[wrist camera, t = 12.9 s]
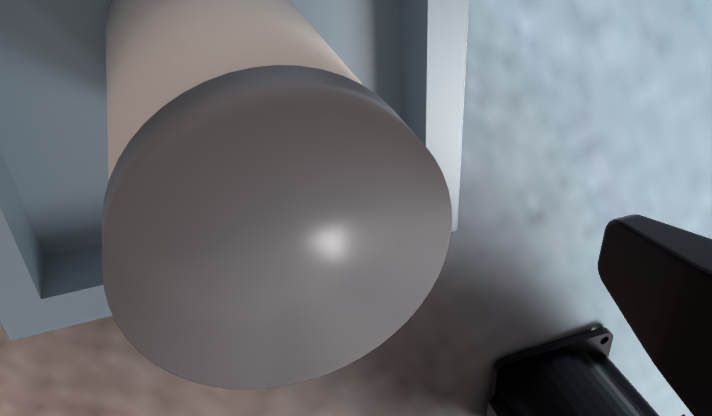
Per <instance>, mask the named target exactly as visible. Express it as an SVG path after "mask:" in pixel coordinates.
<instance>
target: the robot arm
mask: <svg viewBox="0 0 712 416" xmlns="http://www.w3.org/2000/svg"><path fill="white" fill-rule="evenodd" d="M598 271H599V275H600V278H601V280H602V282H603V284H604V285H605V287H606V288H607V290H608V292H609V293H610V295H611V296H612V298H613V300H614V301H615V303H616V304H617V306H618V308H619V309H620V311H621V312H622V314H623V316H624V317H625V319H626V320H627V322H628V324H629V325H630V327H631V328H632V330H633V332H634V333H635V335H636V336H637V338H638V340H639V341H640V343H641V344H642V346H643V348H644V349H645V351H646V352H647V354H648V355H649V357H650V358H651V360H652V361H653V363H654V364H655V366H656V367H657V368H658V370H659V371H660V372H661V374H662V375H663V377H664V378H665V379H666V381H667V382H668V383H669V384H670V386H671V387H672V388H673V390H674V391H675V392H676V393H677V395H678V396H679V397H680V399H681V400H682V401H683V403H684V404H685V405H686V406H687V408H688V409H689V410H690V412H691V413H692V414H693V415H694V416H712V239H709V238H706V237H704V236H701V235H698V234H695V233H692V232H689V231H686V230H683V229H680V228H677V227H674V226H671V225H668V224H665V223H662V222H659V221H656V220H653V219H650V218H647V217H644V216H641V215H629V216H625V217H621V218H617V219H614V220H612V221H610V222H609V223H608V225H607V226H606V228H605V232H604V237H603V242H602V246H601V251H600V255H599V260H598ZM612 340H613V334H612V333H611V332H610V331H609V330H608V329H607V328H605V327H604V328H599V329H596V330H593V331H589V332H586V333H583V334H580V335H576V336H573V337H570V338H566V339H563V340H560V341H556V342H553V343H550V344H547V345H543V346H540V347H537V348H533V349H530V350H527V351H524V352H520V353H517V354H514V355H510V356H507V357H504V358H501V359H499V360H498V361H497V362H496V363H495V364H494V366H493V372H492V382H491V391H490V398H489V400H488V405H487V415H486V416H659V415H658V414H657V413H656V411H655V410H654V409H653V408H652V407H651V406H650V405H649V403H648V402H647V401H646V400H645V399H644V398H643V397H642V395H641V394H640V393H639V392H638V391H637V390H636V389H635V388H634V386H633V385H632V384H631V383H630V382H629V381H628V380H627V378H626V377H625V376H624V375H623V374H622V373H621V372H620V371H619V369H618V368H617V367H616V366H615V365H614V364H613V363H612V361H611V360H610V359H609V358H608V356H609V352H610V348H611V344H612ZM682 416H685V415H684V414H683V415H682Z"/></svg>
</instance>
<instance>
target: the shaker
mask: <svg viewBox="0 0 712 416" xmlns="http://www.w3.org/2000/svg"><path fill="white" fill-rule="evenodd" d="M105 35H106V83H107V131H108V179H109V182H108V186H107V190H106V193H105V197H104V204H103V215H102V271H103V284H104V291H105V295H106V298H107V302H108V306H109V309H110V311H111V313H112V315H113V317H114V319H115V322H116V324H117V325H118V327H119V328H120V330H121V331H122V333H123V334H124V335H125V337H126V338H127V340H128V341H129V342H130V343H131V344H132V345H133V346H134V347H135V348H136V349H137V350H138V351H139V352H140V353H141V354H142V355H143V356H145V357H146V358H147V359H149V360H150V361H151V362H153V363H154V364H155V365H157V366H159V367H161V368H162V369H164V370H166V371H168V372H170V373H171V374H174V375H176V376H179V377H181V378H184V379H186V380H189V381H192V382H196V383H200V384H203V385H207V386H213V387H219V388H226V389H244V390H252V389H269V388H275V387H282V386H289V385H293V384H297V383H301V382H305V381H309V380H312V379H315V378H318V377H321V376H324V375H327V374H329V373H331V372H333V371H336V370H338V369H340V368H343V367H345V366H347V365H349V364H350V363H352V362H354V361H356V360H358V359H360V358H361V357H363V356H365V355H366V354H368V353H369V352H371V351H372V350H374V349H375V348H377V347H378V346H380V345H381V344H382V343H383V342H385V341H386V340H387V339H388V338H390V337H391V336H392V335H393V334H394V333H395V332H396V331H398V330H399V329H400V328H401V327H402V326H403V325H404V324H405V323H406V322H407V321H408V320H409V319H410V317H411V316H412V315H413V314H414V313H415V312H416V310H417V309H418V308H419V307H420V306H421V304H422V303H423V301H424V300H425V298H426V297H427V295H428V294H429V293H430V291H431V289H432V287H433V285H434V284H435V282H436V280H437V278H438V276H439V274H440V272H441V269H442V267H443V264H444V262H445V259H446V255H447V252H448V248H449V244H450V238H451V230H452V205H451V200H450V194H449V189H448V186H447V183H446V181H445V178H444V175H443V172H442V170H441V169H440V167H439V165H438V163H437V161H436V160H435V158H434V156H433V155H432V154H431V152H430V151H429V150H428V149H427V147H426V146H425V145H424V144H423V143H422V141H421V140H420V139H419V138H418V137H417V136H416V135H415V133H414V132H413V131H412V130H411V129H410V128H409V127H408V126H407V125H406V123H405V122H404V121H403V120H402V119H401V118H400V117H399V116H398V114H397V113H396V112H395V111H394V110H393V109H392V108H391V107H390V106H389V105H388V104H387V103H386V102H385V101H384V100H382V99H381V98H380V97H379V96H378V95H377V94H375V93H374V92H372V91H371V90H369V89H368V88H366V87H365V86H364V85H363V84H362V83H361V82H360V81H359V80H358V78H357V77H356V76H355V75H354V74H353V73H352V72H351V70H350V69H349V68H348V67H347V66H346V65H345V63H344V62H343V61H342V60H341V59H340V58H339V57H338V55H337V54H336V53H335V52H334V51H333V50H332V48H331V47H330V46H329V45H328V44H327V43H326V42H325V40H324V39H323V38H322V37H321V36H320V35H319V33H318V32H317V31H316V30H315V29H314V28H313V27H312V25H311V24H310V23H309V22H308V21H307V20H306V19H305V17H304V16H303V15H302V14H301V13H300V12H299V10H298V9H297V8H296V7H295V6H294V5H293V4H292V2H291V1H290V0H112V2H111V4H110V7H109V11H108V15H107V19H106V31H105Z"/></svg>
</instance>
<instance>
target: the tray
mask: <svg viewBox="0 0 712 416" xmlns="http://www.w3.org/2000/svg"><path fill="white" fill-rule="evenodd" d="M290 1H291V2H292V4H293V5H294V6H295V7H296V8H297V9H298V10H299V12H300V13H301V14H302V15H303V16H304V17H305V19H306V20H307V21H308V22H309V23H310V24H311V25H312V27H313V28H314V29H315V30H316V31H317V32H318V33H319V35H320V36H321V37H322V38H323V39H324V40H325V42H326V43H327V44H328V45H329V46H330V47H331V48H332V50H333V51H334V52H335V53H336V54H337V55H338V57H339V58H340V59H341V60H342V61H343V62H344V63H345V65H346V66H347V67H348V68H349V69H350V70H351V72H352V73H353V74H354V75H355V76H356V77H357V78H358V80H359V81H360V82H361V83H362V84H363V85H364V86H365V87H366V88H368V89H369V90H371V91H372V92H374V93H375V94H377V95H378V96H379V97H380V98H381V99H382V100H384V101H385V102H386V103H387V104H388V105H389V106H390V107H391V108H392V109H393V110H394V111H395V112H396V113H397V114H398V116H399V117H400V118H401V119H402V120H403V121H404V122H405V123H406V125H407V126H408V127H409V128H410V129H411V130H412V131H413V132H414V133H415V135H416V136H417V137H418V138H419V139H420V140H421V141H422V143H423V144H424V145H425V146H426V147H427V149H428V150H429V151H430V152H431V154H432V155H433V156H434V158H435V160H436V161H437V163H438V165H439V167H440V169H441V170H442V172H443V175H444V178H445V181H446V183H447V186H448V189H449V194H450V200H451V205H452V230H451V232H453V231H457V227H458V208H459V188H460V169H461V149H462V130H463V110H464V90H465V71H466V51H467V32H468V12H469V0H290ZM111 2H112V0H0V322H1V324H2V326H3V328H4V330H5V332H6V334H7V336H8V338H9V340H10V341H13V340H17V339H21V338H25V337H29V336H33V335H37V334H41V333H45V332H49V331H53V330H57V329H61V328H65V327H70V326H74V325H78V324H82V323H86V322H90V321H94V320H98V319H102V318H106V317H110V316H113V315H112V313H111V311H110V309H109V306H108V302H107V298H106V295H105V291H104V284H103V271H102V215H103V204H104V197H105V193H106V190H107V186H108V182H109V179H108V131H107V83H106V35H105V31H106V19H107V15H108V11H109V7H110V4H111Z"/></svg>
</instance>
